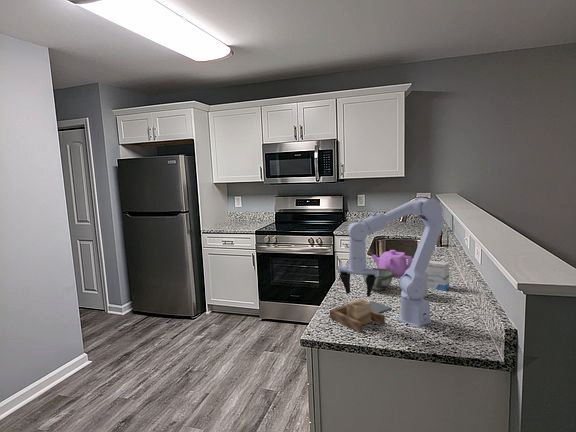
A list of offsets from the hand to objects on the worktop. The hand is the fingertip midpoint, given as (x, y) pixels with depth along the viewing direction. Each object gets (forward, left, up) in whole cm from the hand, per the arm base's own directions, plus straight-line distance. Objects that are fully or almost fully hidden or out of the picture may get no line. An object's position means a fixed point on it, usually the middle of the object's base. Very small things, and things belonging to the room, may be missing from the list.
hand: (358, 294), depth 128 cm
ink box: (+5, -53, -10) cm, 54 cm away
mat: (+6, -13, -10) cm, 18 cm away
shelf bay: (+1, 0, -10) cm, 10 cm away
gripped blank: (0, 0, -10) cm, 10 cm away
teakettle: (+35, -57, -10) cm, 68 cm away
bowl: (+21, -32, -10) cm, 40 cm away
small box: (+4, -38, -10) cm, 40 cm away
